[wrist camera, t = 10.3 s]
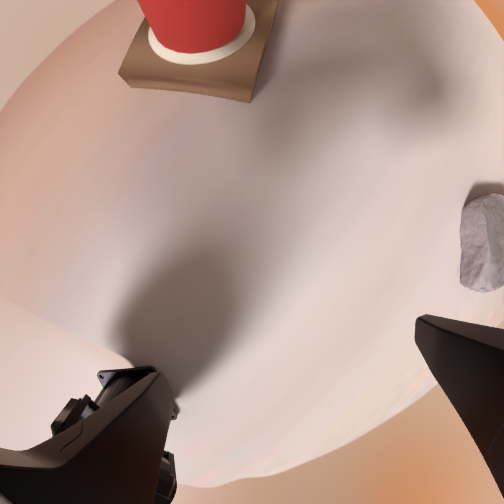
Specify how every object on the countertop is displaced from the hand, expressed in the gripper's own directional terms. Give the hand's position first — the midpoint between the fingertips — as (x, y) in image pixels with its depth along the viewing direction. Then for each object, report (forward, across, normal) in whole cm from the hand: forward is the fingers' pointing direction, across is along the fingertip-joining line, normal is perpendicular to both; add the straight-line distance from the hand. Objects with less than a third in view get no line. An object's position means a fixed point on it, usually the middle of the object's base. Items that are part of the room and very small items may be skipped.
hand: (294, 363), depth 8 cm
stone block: (+15, -25, +3) cm, 29 cm away
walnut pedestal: (+14, +1, -19) cm, 23 cm away
